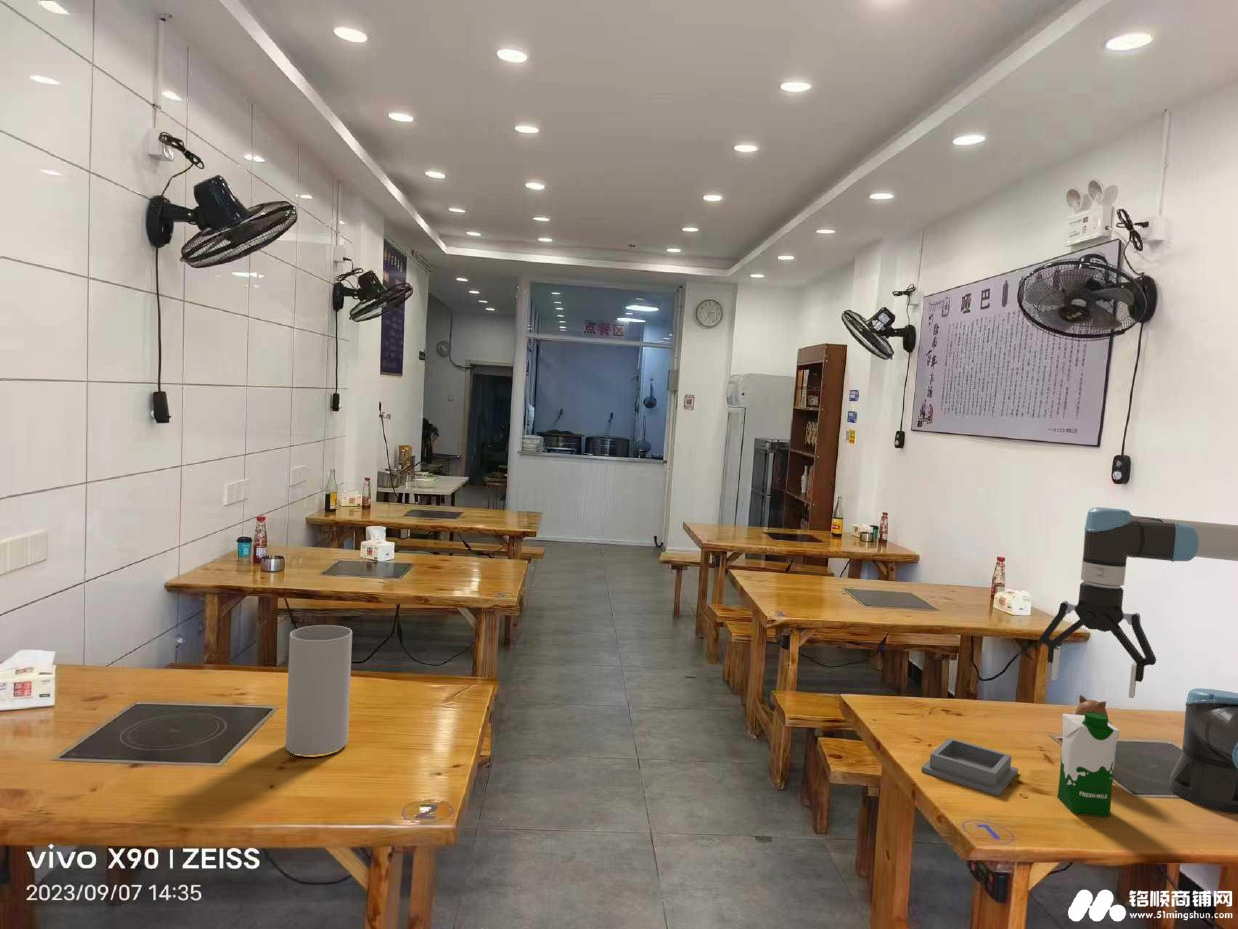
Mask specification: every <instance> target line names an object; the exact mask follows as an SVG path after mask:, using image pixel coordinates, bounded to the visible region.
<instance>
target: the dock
mask: <svg viewBox="0 0 1238 929" xmlns="http://www.w3.org/2000/svg"><path fill="white" fill-rule="evenodd" d="M921 772H922V773H924V774H928V775H931V776H935V777H938V778H941V779H944V780H947V781H949V782H950V781H951V782H953V783H956V784H959V785H963V786H966V787H969V788H972V789H975V790H978V791H982V792H984V793H987V794H991V795H994V796H996V797H1000V796H1001V795H1002V794H1003V792H1004V791H1005V790H1006V788H1007V787H1008V786H1009V785H1010V783H1011V782H1012V781H1013V780H1014V778H1015V777H1016V775H1017V774H1018V773H1019V768H1017V767H1015V766H1012V754H1008V753H1004V752H1000V751H999V750H998V751H997V750H995V749H992V748H991V749H990V748H987V747H984V746H981V745H977V744H973V743H971V742H970V743H969V742H966V741H963V740H959V739H956V738H953V737H948V738H947V739H946V740H945V741H944V742H943V743H941V744H940V745H939V746H938V747H937V748H936V749H934V750H933V751H932V752H931V753H930V757H929V760H928V761H927V762H925V764H924V765H922V766H921Z"/></svg>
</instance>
